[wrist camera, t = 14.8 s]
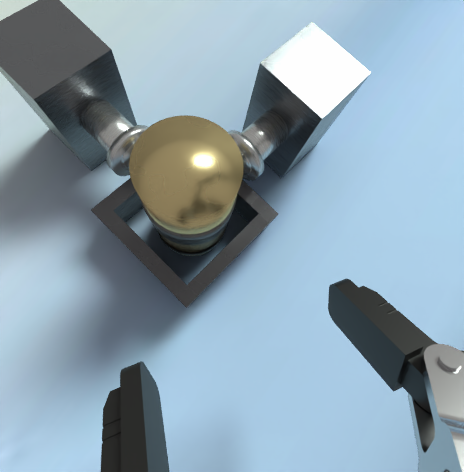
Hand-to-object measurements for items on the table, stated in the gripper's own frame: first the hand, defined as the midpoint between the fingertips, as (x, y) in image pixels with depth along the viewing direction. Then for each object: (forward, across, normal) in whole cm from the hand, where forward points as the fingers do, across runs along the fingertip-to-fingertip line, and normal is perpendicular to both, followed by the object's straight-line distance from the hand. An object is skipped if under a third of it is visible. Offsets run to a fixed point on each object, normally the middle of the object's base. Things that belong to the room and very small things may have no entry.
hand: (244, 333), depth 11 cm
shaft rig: (+17, -2, -3) cm, 17 cm away
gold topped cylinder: (+12, 0, +2) cm, 12 cm away
